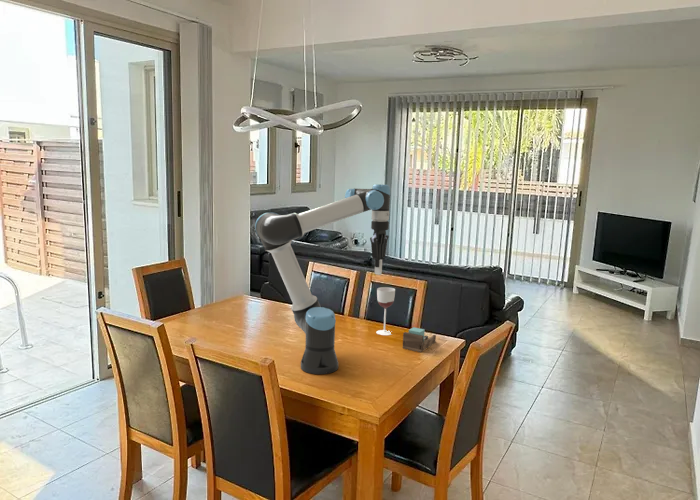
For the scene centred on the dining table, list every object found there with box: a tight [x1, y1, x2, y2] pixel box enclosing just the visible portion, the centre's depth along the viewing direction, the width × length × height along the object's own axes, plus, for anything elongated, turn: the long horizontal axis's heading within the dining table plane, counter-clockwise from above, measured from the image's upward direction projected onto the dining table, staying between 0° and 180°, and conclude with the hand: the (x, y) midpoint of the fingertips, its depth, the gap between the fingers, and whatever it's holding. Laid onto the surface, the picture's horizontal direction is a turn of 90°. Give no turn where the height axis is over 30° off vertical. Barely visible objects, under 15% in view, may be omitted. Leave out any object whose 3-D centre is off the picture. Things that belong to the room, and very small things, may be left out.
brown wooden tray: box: [402, 331, 437, 353], centre depth 235 cm, size 17×9×7 cm, turn 148°
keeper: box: [408, 326, 426, 342], centre depth 232 cm, size 5×6×7 cm
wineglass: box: [375, 286, 396, 336], centre depth 251 cm, size 9×10×22 cm
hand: (378, 274), depth 223 cm, fingers closed
